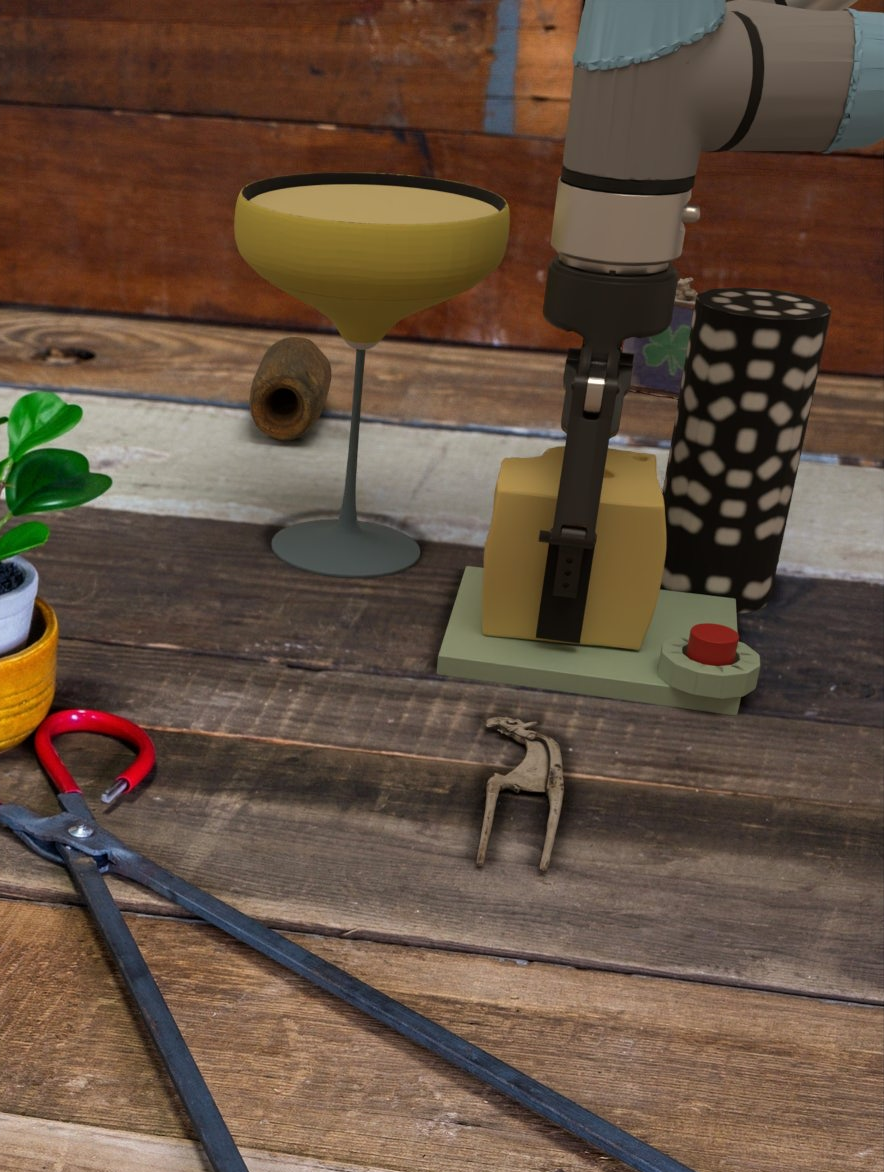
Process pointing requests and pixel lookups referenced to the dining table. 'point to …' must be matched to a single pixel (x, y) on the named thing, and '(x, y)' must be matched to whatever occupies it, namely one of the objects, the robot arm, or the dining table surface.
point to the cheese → (620, 556)
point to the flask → (664, 349)
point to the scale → (605, 656)
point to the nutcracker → (527, 780)
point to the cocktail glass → (365, 301)
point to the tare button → (712, 644)
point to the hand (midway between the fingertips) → (563, 603)
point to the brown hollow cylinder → (290, 388)
